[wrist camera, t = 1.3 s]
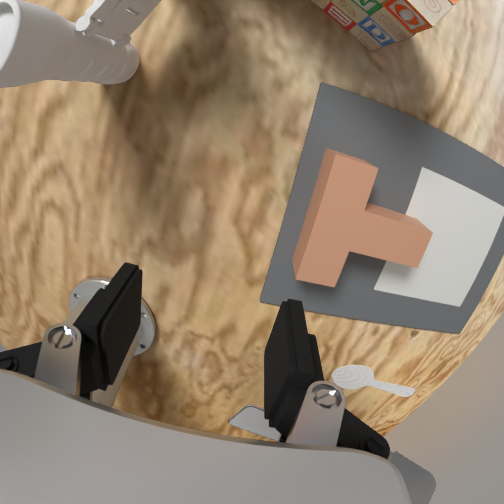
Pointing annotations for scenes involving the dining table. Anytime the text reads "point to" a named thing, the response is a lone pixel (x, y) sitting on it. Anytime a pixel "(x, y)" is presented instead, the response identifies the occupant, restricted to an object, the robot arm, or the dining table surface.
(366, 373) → the spoon
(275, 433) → the smartphone
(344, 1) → the stack of blocks
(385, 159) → the mat
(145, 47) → the dining table surface
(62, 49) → the binoculars
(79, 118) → the dining table surface
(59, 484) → the robot arm
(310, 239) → the t block
